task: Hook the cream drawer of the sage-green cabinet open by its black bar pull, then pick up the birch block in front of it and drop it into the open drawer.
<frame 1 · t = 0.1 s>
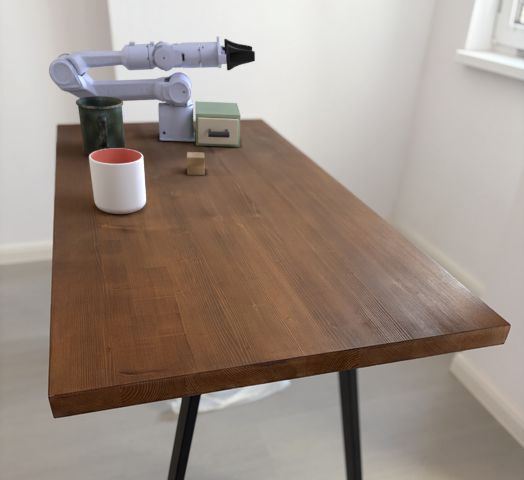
hand: (253, 53, 140), 22 cm above the table, tool horizontal, fingers open, 7 cm apart
cabinet: (216, 139, 152), on the table
drawer: (217, 127, 146), point 4 cm above the table, slide at 0.0 cm
mug: (105, 156, 135), on the table
block: (195, 172, 129), on the table
cup: (121, 207, 110), on the table
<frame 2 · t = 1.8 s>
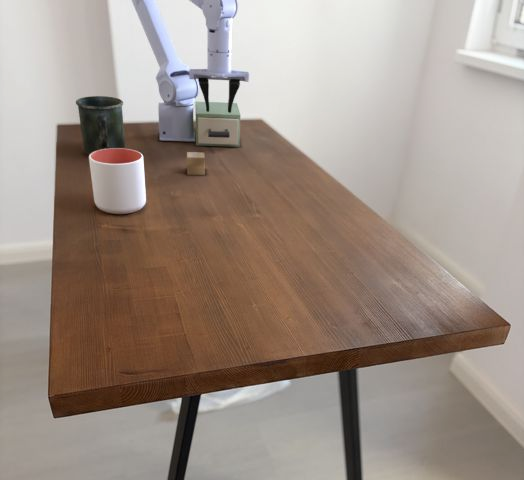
hand: (218, 111, 139), 9 cm above the table, tool pointing down, fingers open, 5 cm apart
nothing on the table moved.
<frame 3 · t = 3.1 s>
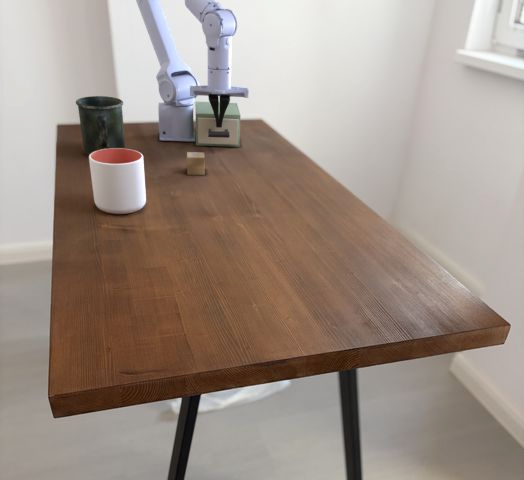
hand: (218, 126, 141), 6 cm above the table, tool pointing down, fingers closed, pressing on drawer
drawer: (217, 127, 146), point 4 cm above the table, slide at 0.0 cm, touching cabinet, gripper
everything else where it was.
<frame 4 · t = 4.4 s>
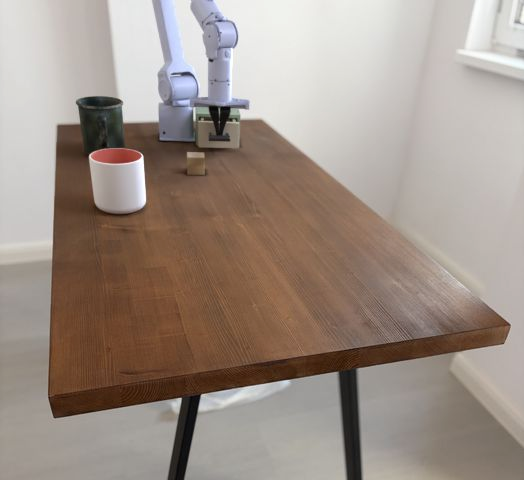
hand: (219, 138, 139), 4 cm above the table, tool pointing down, fingers closed, pressing on drawer
drawer: (218, 131, 144), point 4 cm above the table, slide at 3.5 cm, touching gripper
everything else where it was.
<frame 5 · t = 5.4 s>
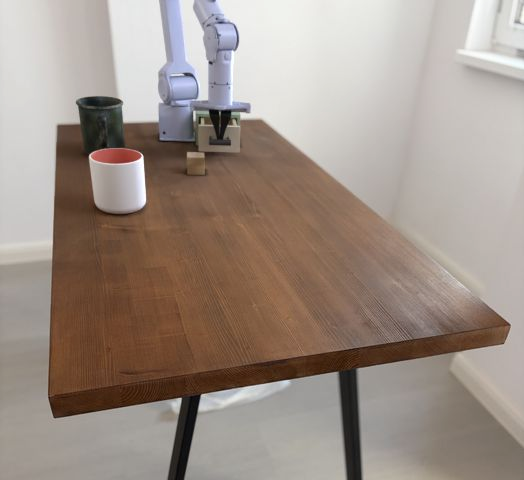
hand: (219, 142, 136), 4 cm above the table, tool pointing down, fingers closed, pressing on drawer
drawer: (218, 135, 141), point 4 cm above the table, slide at 7.1 cm, touching gripper
everything else where it was.
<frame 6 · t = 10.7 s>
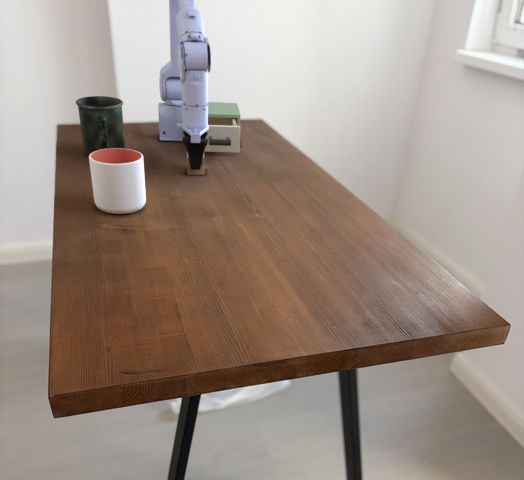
hand: (195, 166, 128), 1 cm above the table, tool pointing down, fingers closed on block, 4 cm apart
drawer: (218, 135, 141), point 4 cm above the table, slide at 7.1 cm
block: (195, 172, 129), on the table, touching gripper
everything else where it was.
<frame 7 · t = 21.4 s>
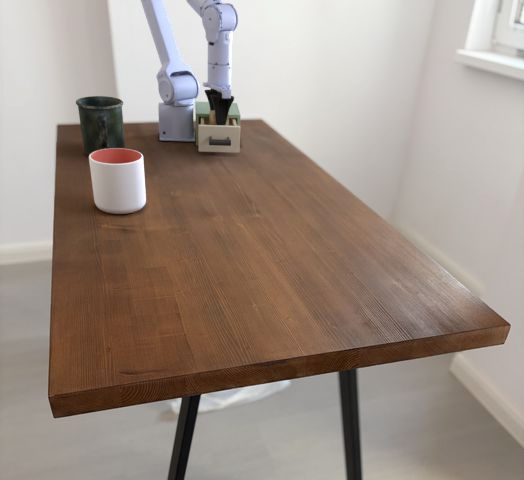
hand: (218, 122, 139), 7 cm above the table, tool pointing down, fingers closed on block, 4 cm apart
block: (218, 128, 140), point 6 cm above the table, touching gripper
everything else where it was.
when the fingers open (10 cm above the table, at t = 28.9 s): block drops 6 cm, resting on drawer.
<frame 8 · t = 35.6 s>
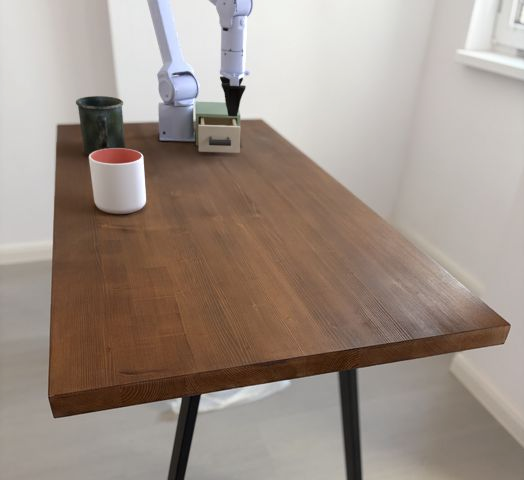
hand: (231, 112, 135), 10 cm above the table, tool pointing down, fingers open, 7 cm apart
drawer: (218, 135, 141), point 4 cm above the table, slide at 7.2 cm, touching block
block: (218, 143, 142), point 2 cm above the table, touching drawer
everything else where it was.
at the end: drawer slide at 7.2 cm; block inside the target area in the drawer (0.1 cm from its centre), point 2.0 cm above the cabinet's base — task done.
